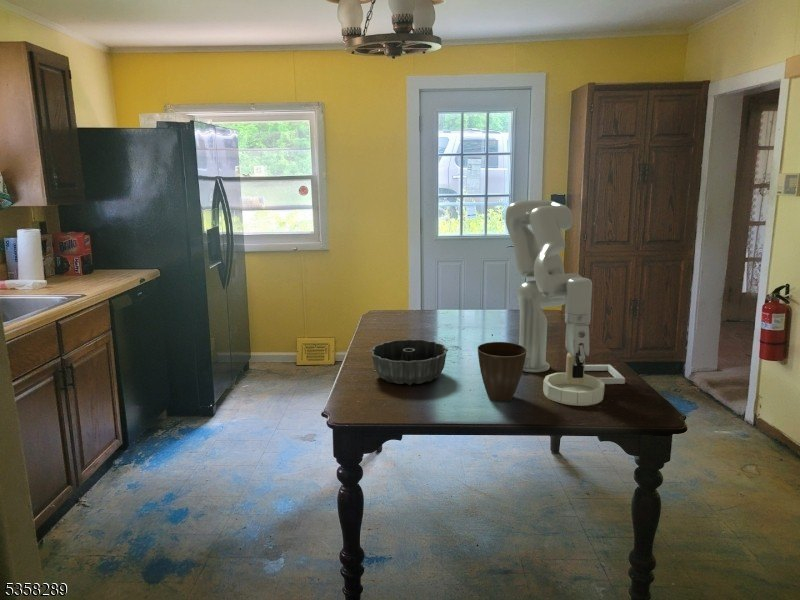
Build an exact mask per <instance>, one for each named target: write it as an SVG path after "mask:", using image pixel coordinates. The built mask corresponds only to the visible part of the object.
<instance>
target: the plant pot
mask: <svg viewBox="0 0 800 600" xmlns="http://www.w3.org/2000/svg"><path fill="white" fill-rule="evenodd" d="M526 353H527V349H526V348H525V347H523V346H521V345H519V343H518V344H517V343H513V342H509V341H491V342H484V343H481V344H479V345H478V346H477V356H478V363H479V369H480V374H481V378H482V379H481V380H482V382H483V385H484V390H485V391H486V392H485V393H486V395H487V398H488V399H489V400H491V401H493V402H498V403H506V402H509V401H511V400H512V399H513V398H514V395H515V393H516V391H517V389H518V385H519V383H520V381H521V377H522V374H523V372H524V371H523V367H524V363H525V358H526Z"/></svg>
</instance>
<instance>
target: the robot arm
mask: <svg viewBox="0 0 800 600" xmlns="http://www.w3.org/2000/svg"><path fill="white" fill-rule="evenodd" d="M504 220H505V226H506V229H507V232H508V234H509V236H510V239H511V241H512V244H513V245H512V246H513V250H514V251H513V252H514V255H515V256H514V257H515V262H516V267H517V271H518V274H519V275H520V277H521V278H524V279H525V278H526V279H532V278H533V279H534V280H529V281H528V280H527V281H525V282H523V283H521V284H520V285H519V287H518V290H517V298H518V300H517V301H518V306H519V330H518V331H519V332H518V334H519V335H518V337H519V338H518V345H521V346H523V347H525V348H526V349H527V353H526V358H525V363H524V367H523V371H522V372H524V373H525V372H526V373H543V372H546V371H548V370H550V366H551V365H550V364H549V363H548V362H547V361H546V358H547V356H546V355H547V337H548V332H547V331H548V319H547V317H546V314H545V312H544V311H543V310H542V308H549V307H550V308H552V307H560V306H564V305H565V306H564V323H565V324H566V328H565V343H564V345H565V350H566V351H567V354H568V353H569V352H570V353H571V354H572V355H573V356H574V365H573V371H572V377H573V378H583V370H584V360H585V361H586V357H589V355H590V328H589V327H590V326H589V325H590V324H591V315H592V314H591V313H592V312H591V311H592V298H593V297H592V296H593V282H592V280H591V279H590V278H586V277H583V276H581V275H580V274H578V273H573V272H572V273H569V272H568V273H565V267H564V264H563V263H564V262H563V260H562V257H561V255H560V254H561V253H562V251H564V249H565V247H566V241H565V238H564V235H563V233H562V231H568V230H570V229H571V228H572V226H573V223H574V216H573V212H572V210H571V209H570V208H569V207H568V206H567V205H565V204H562V203H559V202H556V201H554V200H549V199H548V200H547V199H544V200H543V199H542V200H541V199H540V200H517V201H514V202H512V203H510V204H508V206H507V208H506V210H505V219H504ZM528 225H529V226H531V229H532V230H531V229H530V228H529V227H528ZM567 354H566V355H567ZM576 354H579V355H576ZM577 357H579V359H578V360H577Z"/></svg>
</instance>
